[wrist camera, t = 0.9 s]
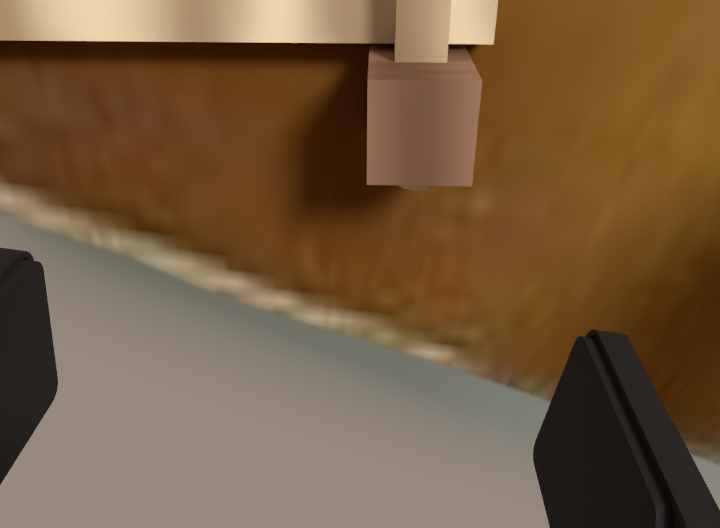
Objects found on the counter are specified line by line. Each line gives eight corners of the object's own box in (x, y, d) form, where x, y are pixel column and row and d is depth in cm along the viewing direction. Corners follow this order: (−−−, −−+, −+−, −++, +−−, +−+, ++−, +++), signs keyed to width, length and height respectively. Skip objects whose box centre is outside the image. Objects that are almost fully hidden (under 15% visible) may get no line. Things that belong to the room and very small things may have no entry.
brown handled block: (483, -205, 23) (512, -227, 18) (454, 148, 30) (469, 205, 25) (371, -205, 23) (369, -227, 18) (368, 147, 30) (366, 203, 25)
